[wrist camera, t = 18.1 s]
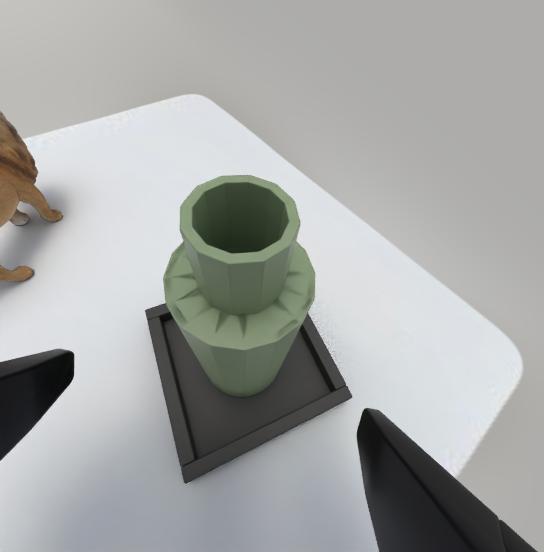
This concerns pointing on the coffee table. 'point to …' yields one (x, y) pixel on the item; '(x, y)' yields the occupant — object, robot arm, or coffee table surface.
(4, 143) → the lion figurine
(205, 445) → the tray
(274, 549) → the coffee table surface
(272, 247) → the vase
